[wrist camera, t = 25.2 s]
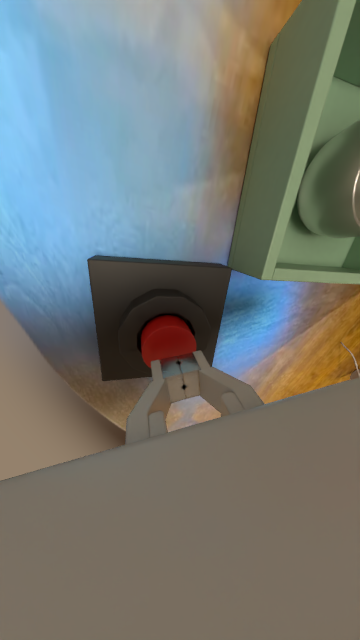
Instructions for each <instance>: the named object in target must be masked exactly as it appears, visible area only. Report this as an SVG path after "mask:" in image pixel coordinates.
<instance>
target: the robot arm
mask: <svg viewBox="0 0 360 640" xmlns="http://www.w3.org/2000/svg"><path fill="white" fill-rule="evenodd" d="M151 370H152V379H153V382H150V383H149V385H148V386H147V388H146V390H145V391H144V393H143V394H142V396H141V397H140V399H139V400H138V402H137V404H136V405H135V407H134V408H133V410H132V411H131V413H130V415H129V416H128V418H127V425H126V442H125V445H123V446H119V447H116V448H112V449H109V450H106V451H102V452H99V453H96V454H92V455H88V456H85V457H82V458H78V459H75V460H71V461H68V462H64V463H61V464H57V465H54V466H51V467H47V468H43V469H40V470H37V471H33V472H30V473H27V474H23V475H19V476H16V477H12V478H9V479H5V480H2V481H0V640H360V377H358V378H354V379H351V380H348V381H344V382H341V383H337V384H334V385H330V386H327V387H323V388H320V389H316V390H313V391H310V392H306V393H303V394H299V395H296V396H292V397H289V398H285V399H282V400H278V401H275V402H271V403H268V404H264V403H263V401H262V400H261V399H260V397H259V396H258V395H257V393H256V392H255V391H254V390H253V388H252V387H251V386H250V385H248V384H246V383H244V382H242V381H240V380H238V379H236V378H234V377H232V376H230V375H228V374H226V373H224V372H222V371H220V370H218V369H216V368H214V367H210V365H209V364H208V362H207V360H206V358H205V357H204V355H203V353H202V351H201V350H199V351H195V352H192V353H187V354H183V355H179V356H173V357H168V358H163V359H160V360H154V361H151ZM199 395H200V396H201V397H202V398H203V399H205V400H206V401H207V402H208V403H209V404H211V405H212V406H213V407H214V408H216V409H217V410H218V411H219V412H220V413H221V417H220V418H216V419H213V420H209V421H206V422H202V423H199V424H195V425H192V426H189V427H185V428H182V429H178V430H175V431H171V432H168V430H167V426H166V421H165V419H166V416H167V414H168V411H169V408H170V405H171V403H173V402H176V401H180V400H183V399H187V398H191V397H195V396H199Z"/></svg>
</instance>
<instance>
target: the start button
mask: <svg viewBox="0 0 360 640" xmlns="http://www.w3.org/2000/svg"><path fill="white" fill-rule="evenodd" d="M141 349H142V357H143V360H144V362H145V363H146V365H147V366H148V367H150V368H151V361H154V360H160V359H163V358H168V357H173V356H179V355H183V354H187V353H192V352H195V351H196V340H195V338H194V336H193V334H192V333H191V331H190V329H189V327H188V326H187V324H186V323H185V322H184V321H183V320H182V319H180V318H179V317H176V316H172V315H163V316H159V317H156V318H154V319H153V320H151V321H150V322H149V323H148V324H147V325H146V326H145V327H144V329H143V331H142V334H141Z"/></svg>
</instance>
